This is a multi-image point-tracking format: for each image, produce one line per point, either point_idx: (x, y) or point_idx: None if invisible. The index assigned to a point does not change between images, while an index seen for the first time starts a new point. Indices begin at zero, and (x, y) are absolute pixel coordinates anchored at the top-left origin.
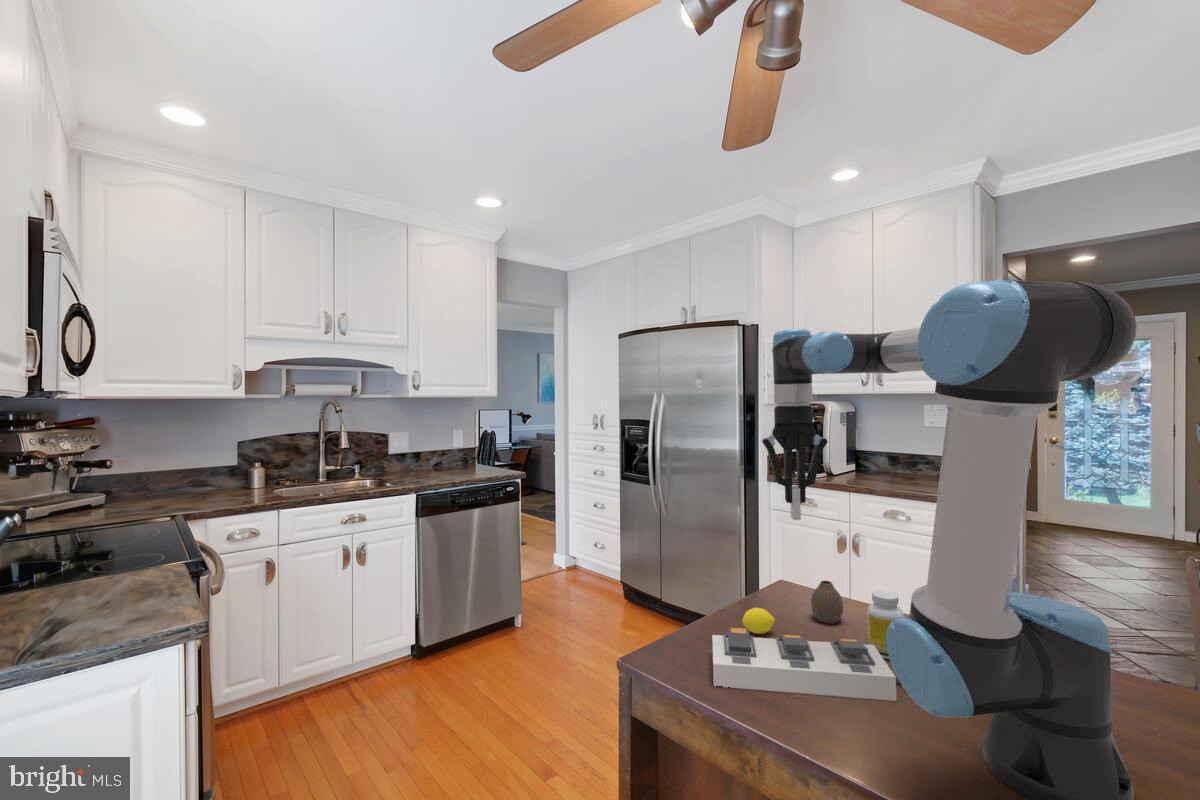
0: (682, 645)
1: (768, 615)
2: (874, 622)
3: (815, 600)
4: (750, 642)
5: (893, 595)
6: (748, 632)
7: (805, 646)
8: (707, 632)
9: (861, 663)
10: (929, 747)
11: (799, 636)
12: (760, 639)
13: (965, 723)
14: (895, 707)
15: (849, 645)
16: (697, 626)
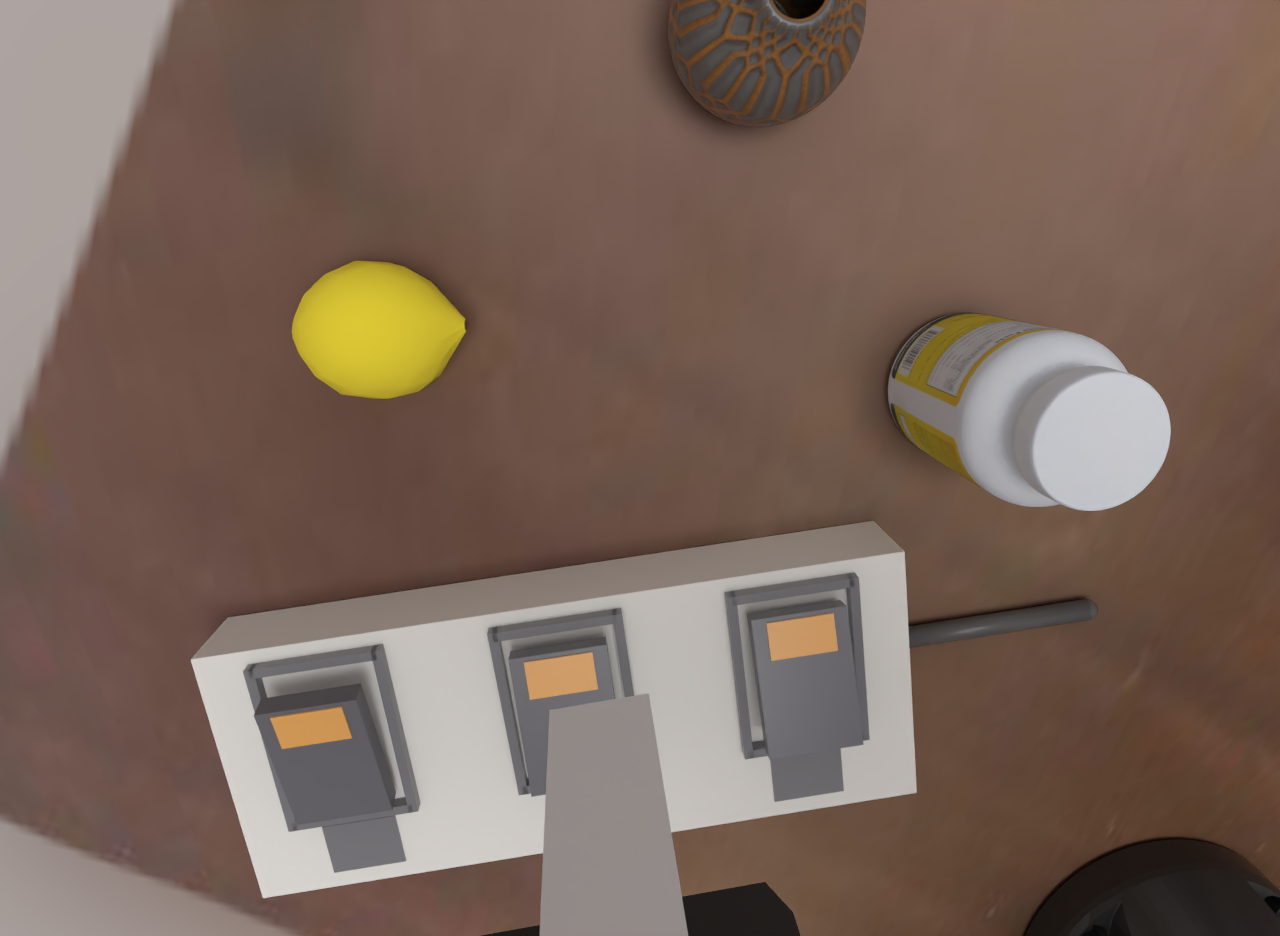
0: (67, 569)
1: (429, 357)
2: (960, 472)
3: (699, 78)
4: (382, 782)
5: (1146, 441)
6: (360, 726)
7: None
8: (138, 396)
9: None
10: (908, 932)
11: (592, 664)
12: (418, 639)
13: (1046, 798)
14: None
15: (796, 719)
16: (64, 336)
